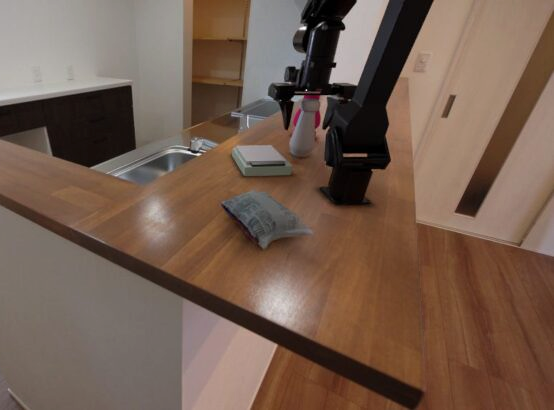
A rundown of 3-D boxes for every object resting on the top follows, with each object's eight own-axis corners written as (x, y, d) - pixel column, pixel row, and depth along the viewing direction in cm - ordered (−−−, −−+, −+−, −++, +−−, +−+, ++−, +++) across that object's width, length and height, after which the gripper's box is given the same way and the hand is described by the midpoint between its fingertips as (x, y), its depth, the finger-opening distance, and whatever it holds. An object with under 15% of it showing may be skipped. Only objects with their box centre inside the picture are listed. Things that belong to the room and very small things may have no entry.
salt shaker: (307, 160, 70) (320, 103, 64) (284, 155, 73) (293, 99, 67) (315, 153, 74) (328, 99, 68) (292, 148, 77) (302, 96, 71)
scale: (290, 175, 63) (293, 163, 62) (244, 176, 62) (245, 164, 61) (272, 154, 73) (273, 144, 72) (231, 155, 73) (232, 145, 71)
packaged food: (264, 205, 52) (268, 179, 49) (311, 245, 42) (319, 215, 40) (218, 215, 49) (219, 188, 46) (257, 260, 39) (262, 229, 37)
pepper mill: (285, 134, 89) (298, 59, 79) (306, 132, 91) (321, 58, 81) (300, 141, 83) (316, 61, 73) (322, 139, 85) (340, 61, 75)
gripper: (342, 54, 71) (326, 120, 79) (265, 53, 69) (256, 121, 77) (371, 57, 61) (349, 133, 69) (282, 56, 60) (270, 134, 67)
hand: (305, 129), depth 71 cm, fingers open, 9 cm apart
